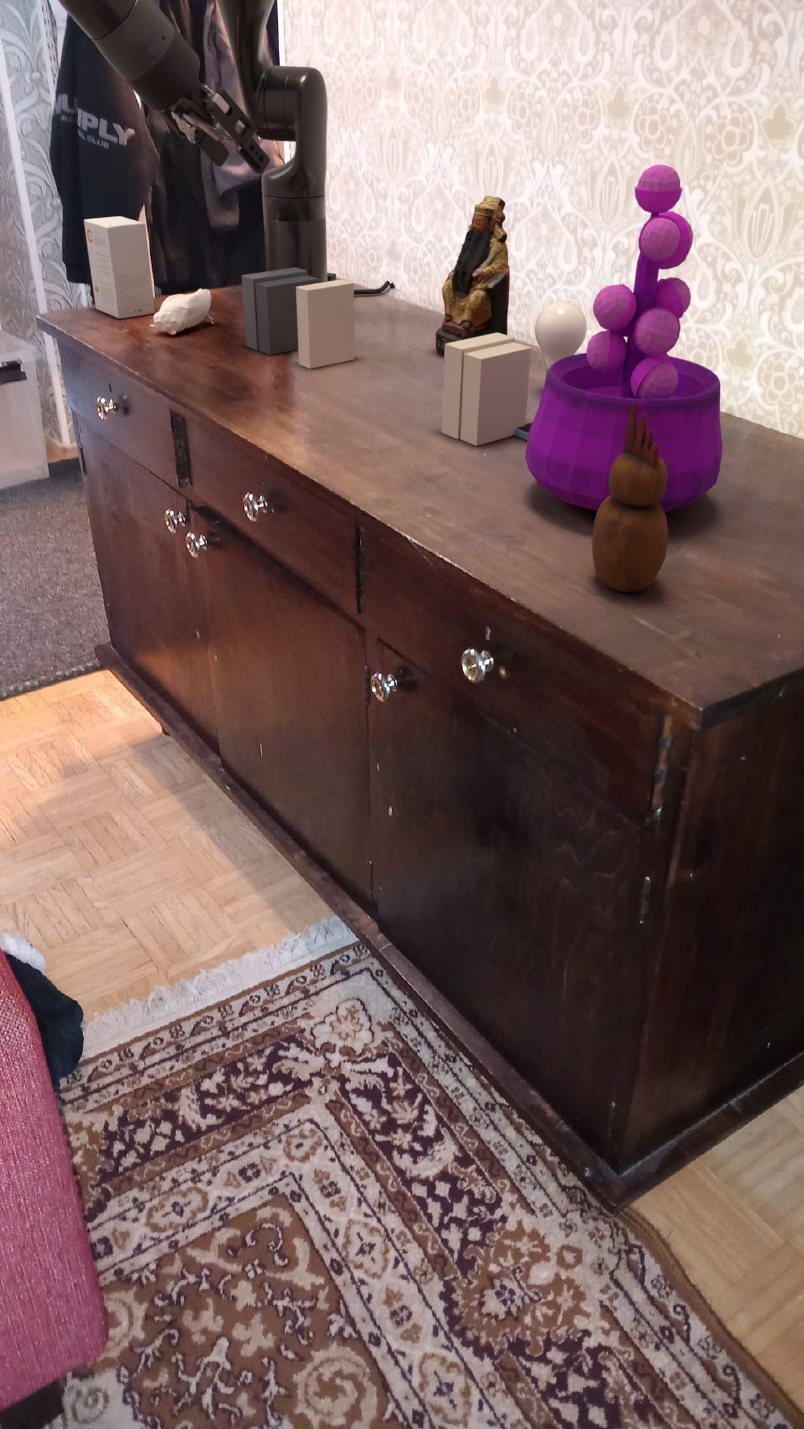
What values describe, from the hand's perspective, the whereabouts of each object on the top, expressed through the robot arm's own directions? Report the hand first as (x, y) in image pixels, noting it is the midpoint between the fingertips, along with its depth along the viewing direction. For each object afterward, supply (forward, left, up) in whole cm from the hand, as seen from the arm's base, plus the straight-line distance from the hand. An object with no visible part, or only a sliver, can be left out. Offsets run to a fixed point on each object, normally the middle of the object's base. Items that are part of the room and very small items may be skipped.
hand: (243, 163), depth 125 cm
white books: (+9, +34, -25) cm, 43 cm away
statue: (-20, +24, -25) cm, 40 cm away
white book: (-10, +6, -25) cm, 27 cm away
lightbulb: (-9, +38, -25) cm, 46 cm away
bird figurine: (-17, -20, -25) cm, 37 cm away
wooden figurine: (+41, +56, -25) cm, 73 cm away
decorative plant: (+23, +52, -25) cm, 62 cm away
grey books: (-15, -3, -25) cm, 29 cm away
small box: (-23, -34, -25) cm, 49 cm away
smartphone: (+4, +44, -25) cm, 51 cm away
